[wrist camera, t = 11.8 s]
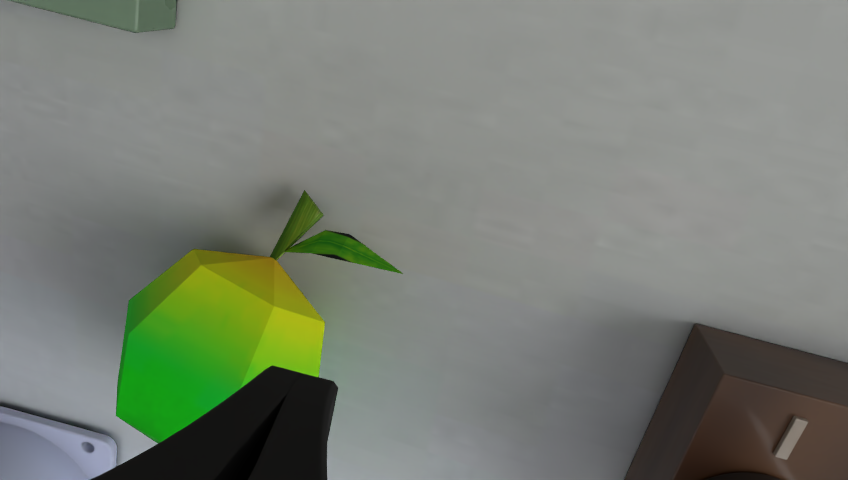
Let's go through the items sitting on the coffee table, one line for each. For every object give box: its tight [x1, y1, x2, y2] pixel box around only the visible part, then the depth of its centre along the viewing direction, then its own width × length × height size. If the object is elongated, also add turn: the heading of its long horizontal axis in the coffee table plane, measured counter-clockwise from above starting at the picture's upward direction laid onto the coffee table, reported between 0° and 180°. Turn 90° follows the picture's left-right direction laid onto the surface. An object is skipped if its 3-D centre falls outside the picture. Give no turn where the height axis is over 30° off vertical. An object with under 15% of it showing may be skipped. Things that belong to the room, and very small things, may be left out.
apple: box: [116, 190, 403, 443], centre depth 20 cm, size 7×6×9 cm
